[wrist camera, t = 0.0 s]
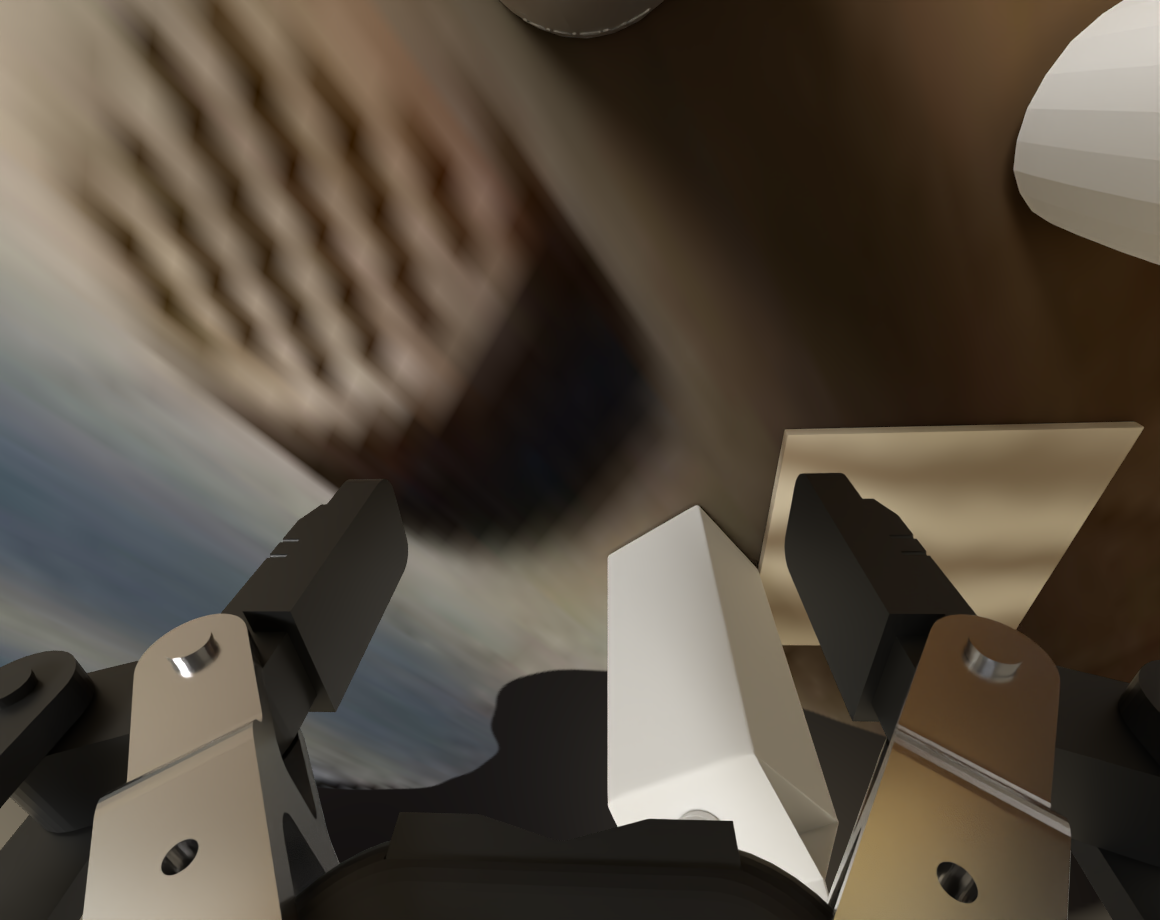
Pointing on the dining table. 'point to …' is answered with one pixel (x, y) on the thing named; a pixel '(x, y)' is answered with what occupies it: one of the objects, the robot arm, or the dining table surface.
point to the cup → (1099, 134)
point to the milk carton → (709, 700)
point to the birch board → (956, 502)
